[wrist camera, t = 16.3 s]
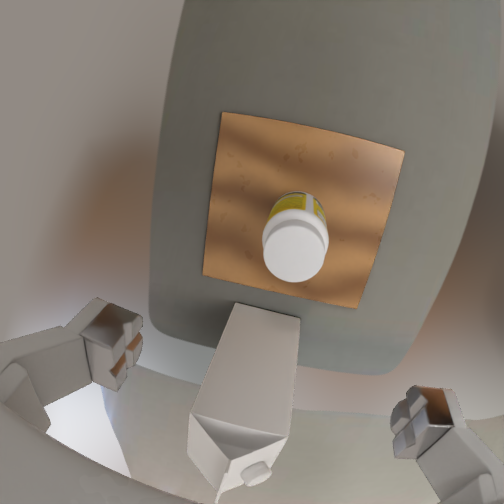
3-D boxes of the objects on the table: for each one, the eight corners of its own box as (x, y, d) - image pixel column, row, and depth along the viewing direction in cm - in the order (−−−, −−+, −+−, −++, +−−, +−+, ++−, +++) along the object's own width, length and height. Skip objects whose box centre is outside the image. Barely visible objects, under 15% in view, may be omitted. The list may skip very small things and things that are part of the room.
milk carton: (226, 349, 36) (172, 490, 19) (235, 300, 33) (170, 456, 16) (284, 363, 35) (259, 512, 18) (301, 316, 32) (283, 485, 15)
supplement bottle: (262, 226, 28) (244, 267, 21) (285, 180, 26) (275, 206, 19) (309, 250, 29) (307, 298, 21) (334, 206, 26) (344, 241, 19)
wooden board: (224, 112, 25) (222, 111, 25) (403, 150, 24) (405, 151, 23) (204, 272, 32) (202, 275, 32) (356, 305, 31) (356, 309, 30)
